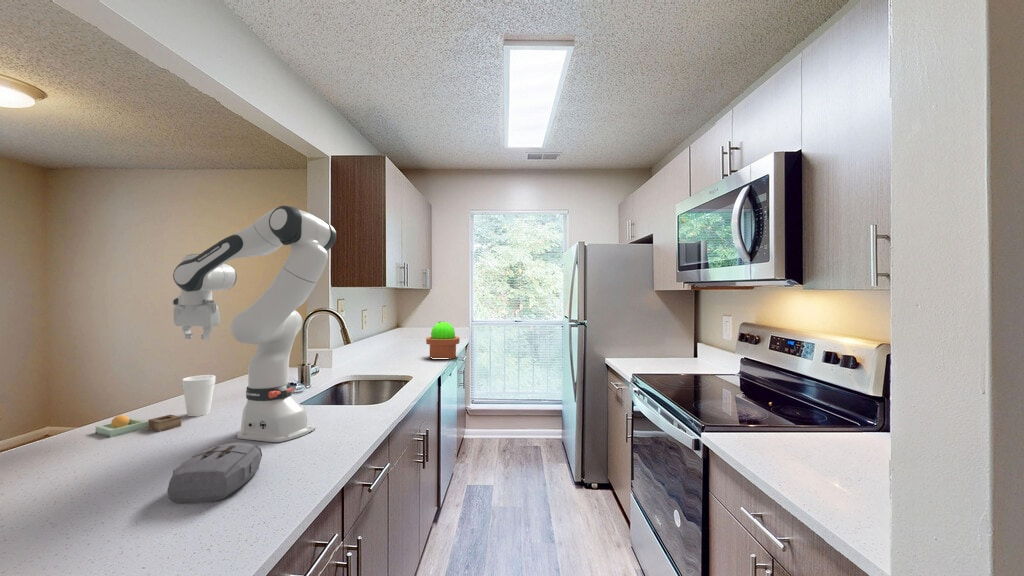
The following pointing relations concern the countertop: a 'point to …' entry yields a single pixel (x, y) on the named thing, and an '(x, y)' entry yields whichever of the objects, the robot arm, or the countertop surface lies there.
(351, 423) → the countertop surface
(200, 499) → the small grey backpack
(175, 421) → the brown wooden box
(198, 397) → the foam cup
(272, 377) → the robot arm
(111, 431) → the tray
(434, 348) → the potted cactus
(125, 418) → the ball
